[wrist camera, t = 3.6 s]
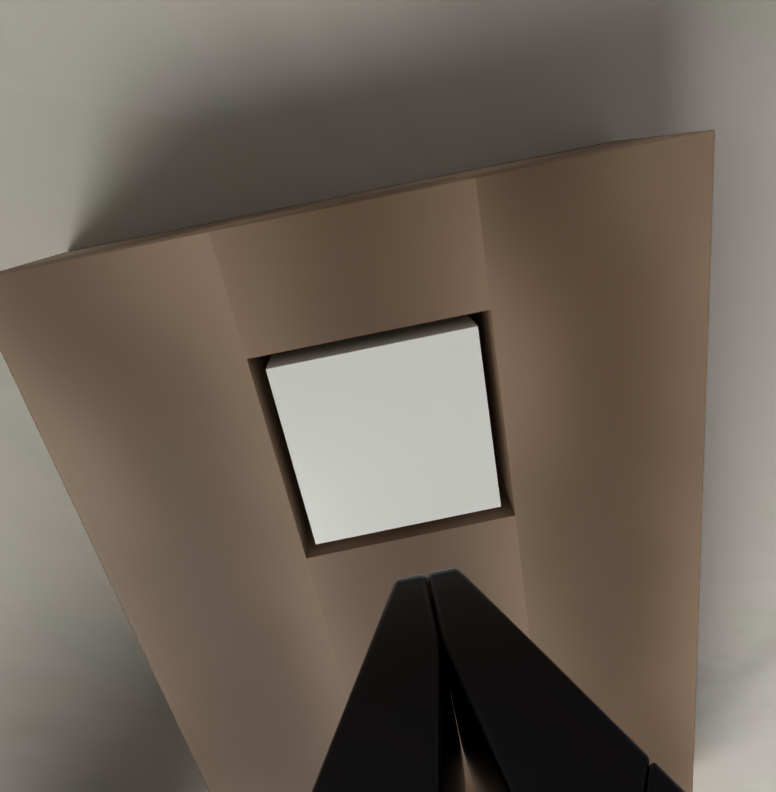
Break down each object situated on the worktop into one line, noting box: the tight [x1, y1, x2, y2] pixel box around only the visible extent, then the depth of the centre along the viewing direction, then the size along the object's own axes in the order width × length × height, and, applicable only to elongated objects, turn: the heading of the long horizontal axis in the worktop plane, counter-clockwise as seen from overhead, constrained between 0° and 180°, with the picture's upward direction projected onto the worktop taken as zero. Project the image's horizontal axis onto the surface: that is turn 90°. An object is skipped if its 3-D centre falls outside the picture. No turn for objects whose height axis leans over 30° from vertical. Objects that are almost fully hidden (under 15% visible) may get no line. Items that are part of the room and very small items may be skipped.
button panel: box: [0, 130, 715, 792], centre depth 17 cm, size 14×26×4 cm, turn 10°
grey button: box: [266, 314, 501, 544], centre depth 14 cm, size 4×4×4 cm
